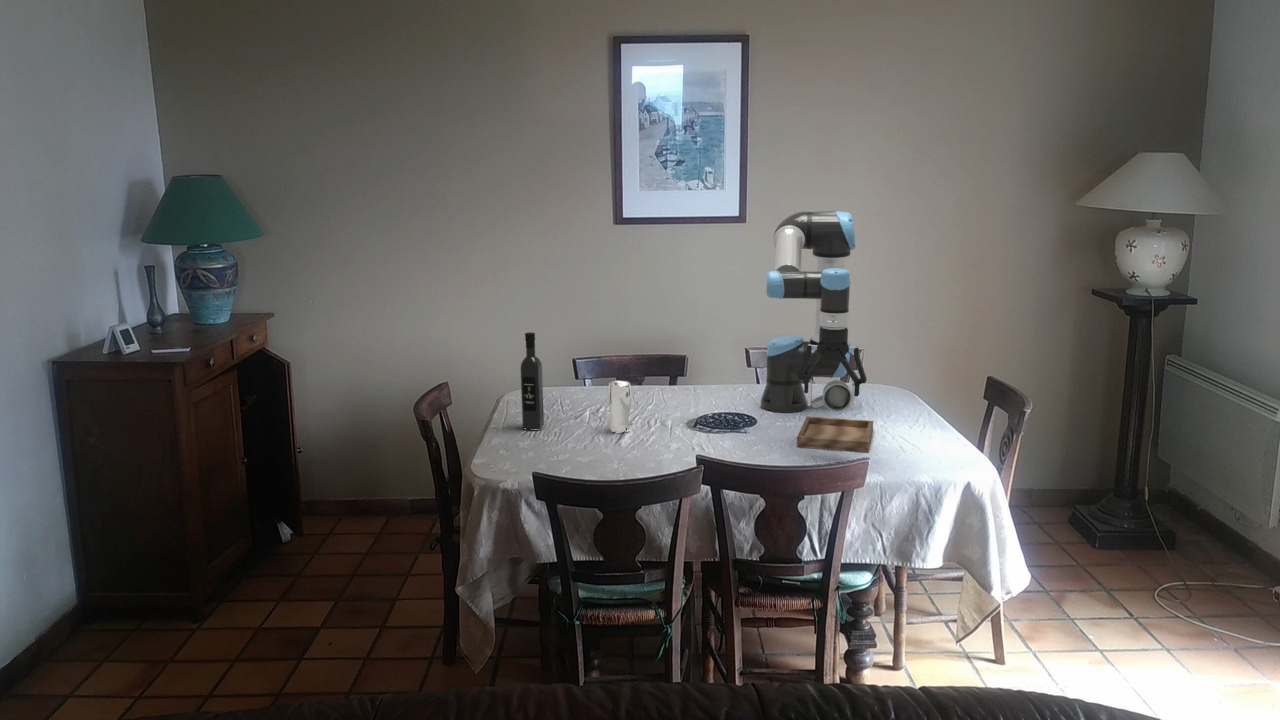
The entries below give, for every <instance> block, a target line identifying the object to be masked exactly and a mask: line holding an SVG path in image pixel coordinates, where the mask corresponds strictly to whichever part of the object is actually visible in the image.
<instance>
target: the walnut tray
mask: <svg viewBox="0 0 1280 720" xmlns="http://www.w3.org/2000/svg"><path fill="white" fill-rule="evenodd" d="M800 427H801V428H800V430H799V432H798V434H797V436H796V447H797V448H805V449H807V448H808V449H816V450H817V449H819V450H820V449H821V450H830V451H831V450H833V451H842V452H843V451H846V452H856V453H858V452H859V453H869V451H870V448H871V447H870V446H871V441H872V436H873V432H874V421H873V420H867V419H866V420H865V419H863V420H862V419H851V418H834V417H823V416H806V417H805V419H804V422H803V423H802V425H801V426H800Z"/></svg>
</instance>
